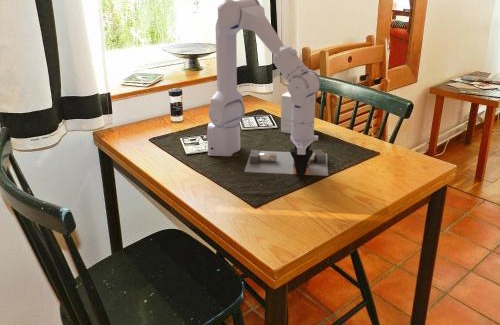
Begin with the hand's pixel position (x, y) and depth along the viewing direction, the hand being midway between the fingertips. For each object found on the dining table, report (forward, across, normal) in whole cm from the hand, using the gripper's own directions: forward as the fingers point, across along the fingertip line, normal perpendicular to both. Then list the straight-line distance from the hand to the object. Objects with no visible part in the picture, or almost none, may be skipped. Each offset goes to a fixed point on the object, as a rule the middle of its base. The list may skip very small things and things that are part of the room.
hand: (301, 168), depth 119 cm
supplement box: (+2, +32, +3) cm, 32 cm away
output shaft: (+2, +6, -2) cm, 7 cm away
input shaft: (+2, +5, +10) cm, 12 cm away
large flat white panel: (+2, +5, +4) cm, 7 cm away
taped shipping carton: (+1, 0, 0) cm, 1 cm away
